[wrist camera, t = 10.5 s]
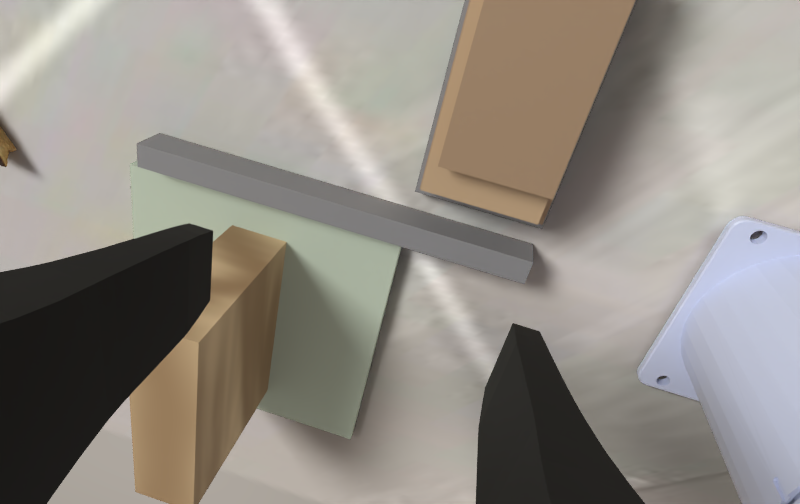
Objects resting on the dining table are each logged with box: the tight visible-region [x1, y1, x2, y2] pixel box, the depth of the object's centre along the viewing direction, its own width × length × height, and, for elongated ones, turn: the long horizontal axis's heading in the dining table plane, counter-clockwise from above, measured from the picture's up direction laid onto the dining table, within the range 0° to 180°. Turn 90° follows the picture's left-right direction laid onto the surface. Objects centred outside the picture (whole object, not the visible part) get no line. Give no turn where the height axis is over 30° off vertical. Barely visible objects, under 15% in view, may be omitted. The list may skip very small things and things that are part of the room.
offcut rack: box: [137, 0, 637, 284], centre depth 17 cm, size 16×15×3 cm
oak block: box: [130, 225, 287, 504], centre depth 21 cm, size 2×9×7 cm, turn 167°
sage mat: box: [130, 161, 402, 440], centre depth 25 cm, size 12×12×1 cm
